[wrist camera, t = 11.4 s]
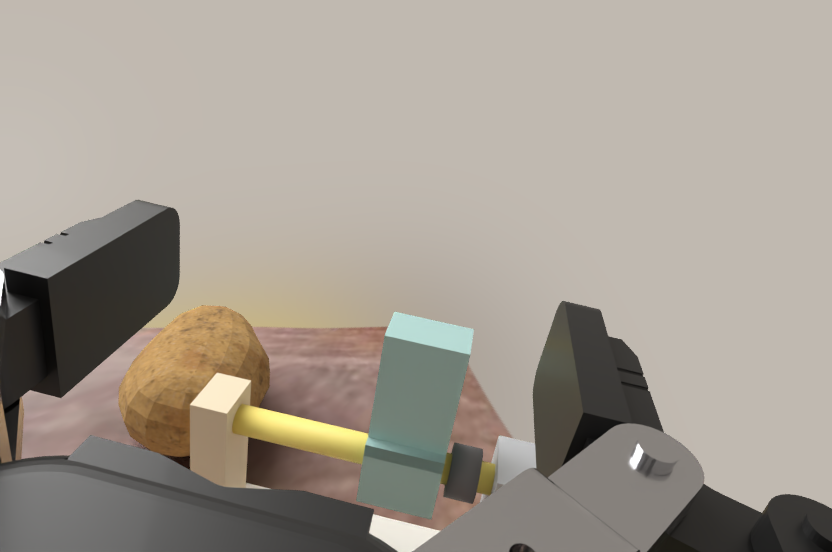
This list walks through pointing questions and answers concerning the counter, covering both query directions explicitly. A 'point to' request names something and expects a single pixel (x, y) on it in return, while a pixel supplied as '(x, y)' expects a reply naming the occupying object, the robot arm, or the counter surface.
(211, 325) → the potato
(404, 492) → the tall teal block
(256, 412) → the stand
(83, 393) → the counter surface
